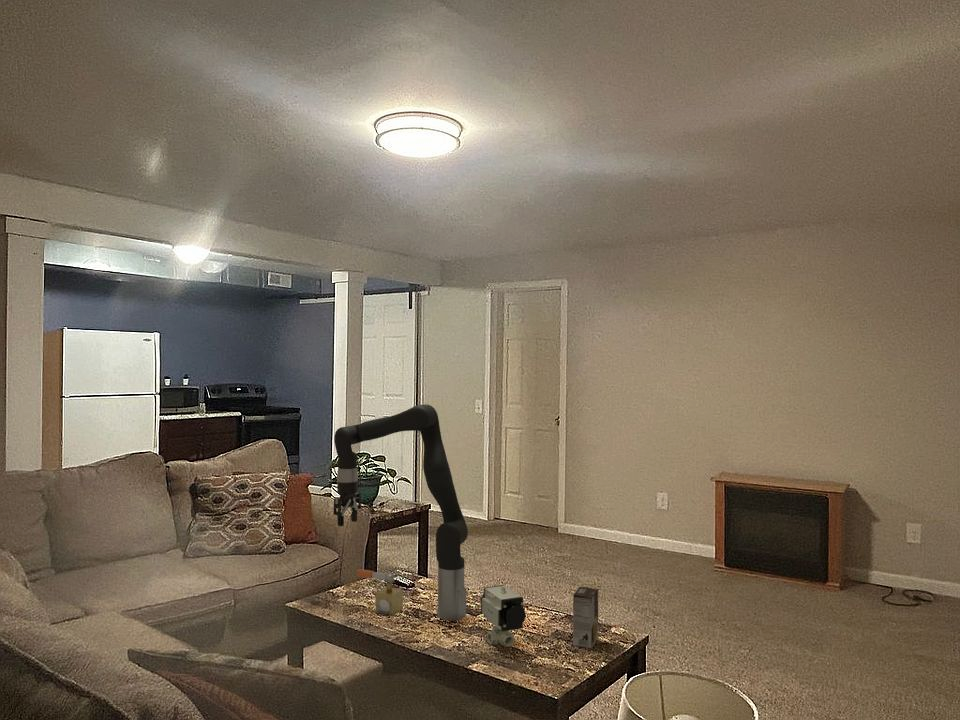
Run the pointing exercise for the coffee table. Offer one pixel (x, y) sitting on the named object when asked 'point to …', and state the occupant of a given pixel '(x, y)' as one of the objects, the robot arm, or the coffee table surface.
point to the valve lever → (375, 575)
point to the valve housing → (389, 600)
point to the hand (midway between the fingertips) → (347, 523)
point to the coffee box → (585, 617)
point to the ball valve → (502, 613)
